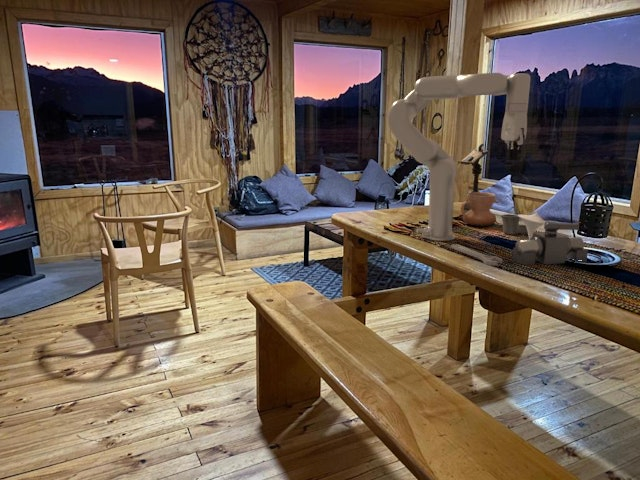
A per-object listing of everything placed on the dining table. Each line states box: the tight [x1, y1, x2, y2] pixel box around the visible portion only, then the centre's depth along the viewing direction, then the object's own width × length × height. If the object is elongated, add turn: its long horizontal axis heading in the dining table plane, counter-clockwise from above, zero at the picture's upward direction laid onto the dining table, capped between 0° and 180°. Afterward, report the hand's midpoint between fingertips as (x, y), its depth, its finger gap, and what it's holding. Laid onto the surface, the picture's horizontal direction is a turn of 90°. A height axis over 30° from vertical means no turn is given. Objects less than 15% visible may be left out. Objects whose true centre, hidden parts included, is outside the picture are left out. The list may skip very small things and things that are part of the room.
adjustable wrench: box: [451, 243, 503, 266], centre depth 172 cm, size 25×6×2 cm, turn 16°
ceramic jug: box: [460, 191, 500, 227], centre depth 217 cm, size 18×14×14 cm
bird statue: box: [456, 143, 489, 213], centre depth 241 cm, size 17×13×35 cm
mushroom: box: [517, 211, 546, 240], centre depth 188 cm, size 10×11×12 cm
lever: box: [543, 221, 580, 231], centre depth 161 cm, size 17×4×2 cm, turn 82°
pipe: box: [500, 213, 528, 235], centre depth 200 cm, size 6×13×8 cm, turn 75°
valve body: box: [512, 229, 589, 266], centre depth 164 cm, size 23×8×11 cm, turn 99°
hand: (512, 159), depth 181 cm, fingers closed
